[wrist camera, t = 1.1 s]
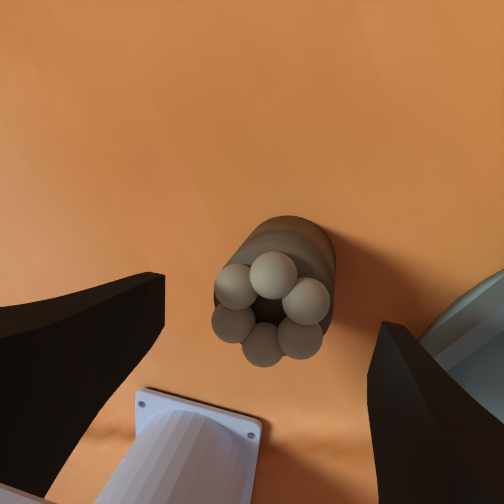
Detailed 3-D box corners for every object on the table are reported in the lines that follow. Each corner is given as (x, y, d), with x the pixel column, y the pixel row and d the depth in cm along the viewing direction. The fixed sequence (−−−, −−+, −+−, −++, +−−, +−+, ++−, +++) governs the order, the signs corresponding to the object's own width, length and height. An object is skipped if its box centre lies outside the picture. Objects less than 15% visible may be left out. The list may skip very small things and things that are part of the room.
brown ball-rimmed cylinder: (326, 309, 17) (318, 391, 12) (240, 291, 18) (197, 361, 13) (344, 224, 16) (344, 276, 10) (249, 208, 17) (204, 249, 11)
